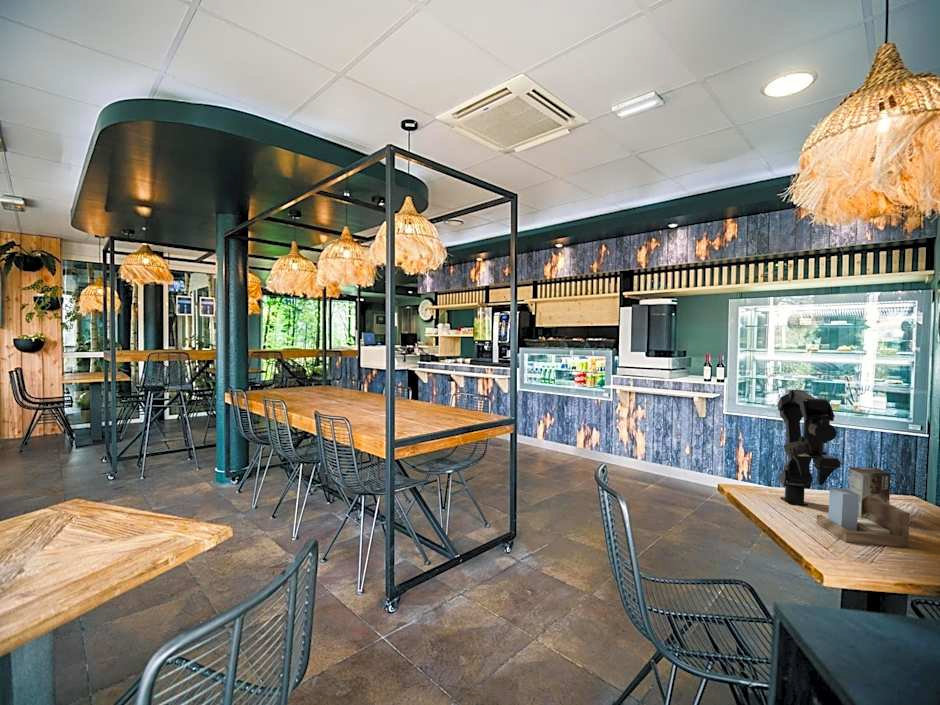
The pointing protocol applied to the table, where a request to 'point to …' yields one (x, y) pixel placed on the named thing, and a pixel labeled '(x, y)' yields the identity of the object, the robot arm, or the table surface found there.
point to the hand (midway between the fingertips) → (811, 480)
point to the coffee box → (869, 486)
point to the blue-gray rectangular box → (843, 508)
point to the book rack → (874, 526)
